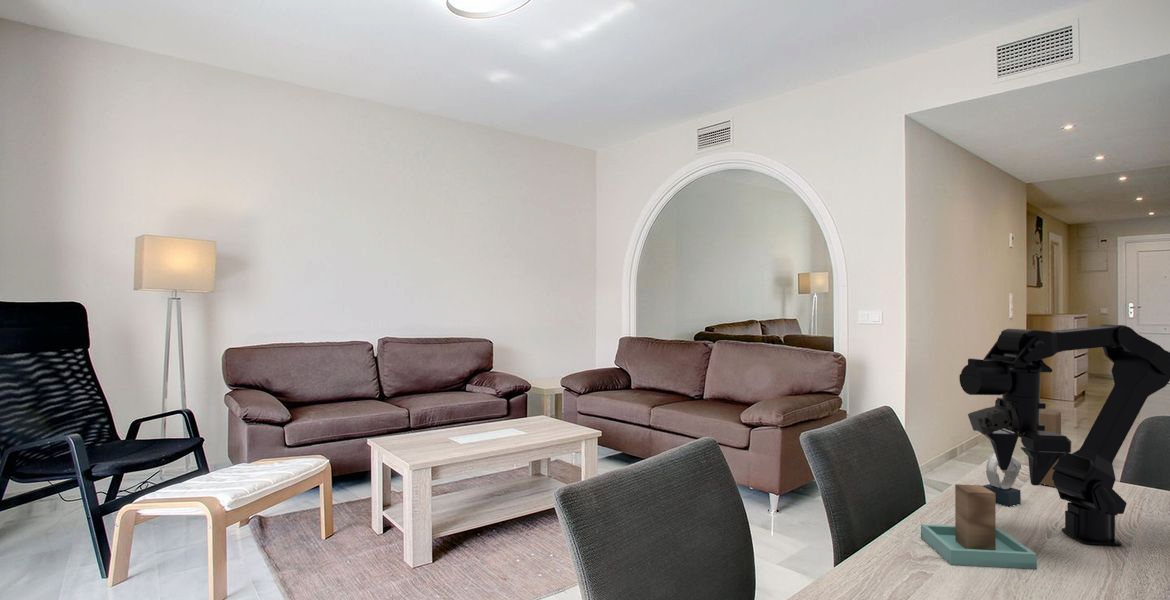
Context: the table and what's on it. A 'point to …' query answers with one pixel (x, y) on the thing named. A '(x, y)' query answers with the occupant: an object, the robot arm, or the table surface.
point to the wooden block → (1052, 425)
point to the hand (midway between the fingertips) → (1018, 477)
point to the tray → (1004, 555)
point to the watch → (1003, 481)
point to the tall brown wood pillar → (975, 517)
